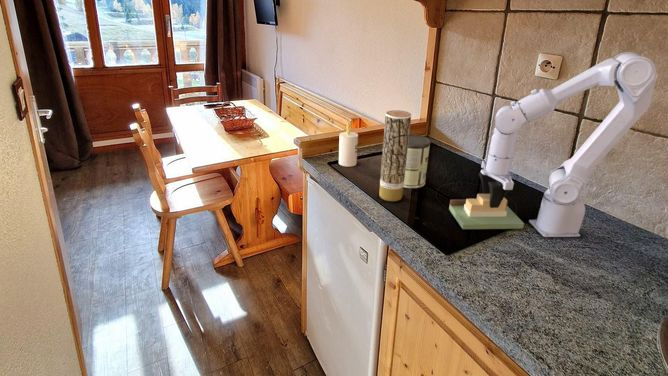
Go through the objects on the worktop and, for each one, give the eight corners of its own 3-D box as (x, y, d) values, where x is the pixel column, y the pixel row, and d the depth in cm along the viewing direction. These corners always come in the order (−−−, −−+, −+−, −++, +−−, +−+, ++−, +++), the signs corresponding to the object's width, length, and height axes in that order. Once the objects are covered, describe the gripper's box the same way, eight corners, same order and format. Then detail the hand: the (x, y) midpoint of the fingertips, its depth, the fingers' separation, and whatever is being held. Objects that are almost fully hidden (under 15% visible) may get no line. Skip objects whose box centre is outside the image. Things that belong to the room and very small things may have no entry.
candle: (351, 168, 138) (353, 125, 132) (335, 164, 141) (336, 122, 135) (360, 162, 143) (362, 121, 137) (344, 158, 146) (345, 118, 140)
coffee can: (392, 174, 134) (395, 133, 128) (423, 176, 133) (428, 135, 127) (393, 187, 125) (397, 144, 119) (426, 189, 124) (432, 146, 118)
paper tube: (403, 202, 115) (413, 117, 105) (379, 202, 115) (387, 116, 105) (400, 192, 122) (409, 110, 111) (377, 191, 122) (384, 109, 111)
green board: (504, 208, 114) (506, 199, 113) (523, 228, 104) (525, 218, 103) (448, 209, 113) (450, 199, 111) (462, 229, 103) (464, 219, 102)
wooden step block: (499, 208, 110) (502, 193, 108) (506, 216, 106) (509, 200, 104) (463, 208, 110) (466, 193, 108) (469, 216, 106) (472, 200, 104)
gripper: (474, 145, 107) (465, 191, 113) (497, 165, 94) (486, 216, 100) (499, 145, 108) (490, 191, 114) (526, 165, 95) (514, 216, 101)
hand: (490, 203), depth 107 cm, fingers closed on wooden step block, 4 cm apart
